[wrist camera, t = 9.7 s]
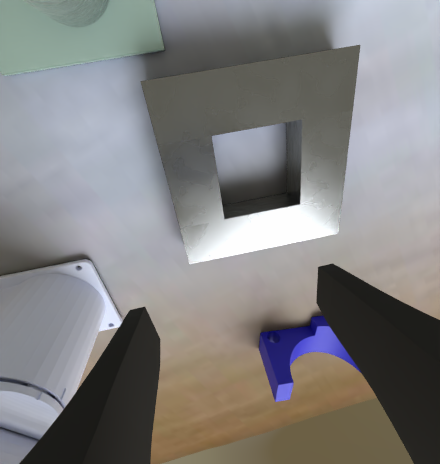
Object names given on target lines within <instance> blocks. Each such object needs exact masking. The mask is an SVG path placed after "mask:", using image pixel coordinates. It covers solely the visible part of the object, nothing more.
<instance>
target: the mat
mask: <svg viewBox="0 0 440 464" xmlns="http://www.w3.org/2000/svg"><path fill="white" fill-rule="evenodd" d="M159 51H165V49H164V44H163V40H162V35H161V30H160V26H159V21H158V16H157V12H156V7H155V2H154V0H109V4H108V6H107V8H106V10H105V12H104V14H103V15H102V16H101V17H100V18H99V19H98V20H97V21H96V22H95V23H93V24H91V25H88V26H85V27H70V26H66V25H63V24H60V23H58V22H56V21H54V20H53V19H51V18H49V17H48V16H46V15H45V14H43V13H42V12H40V11H39V10H37V9H36V8H34V7H33V6H31V5H30V4H28V3H26V2H25V1H23V0H0V72H1V74H2V75H4V76H10V75H16V74H22V73H28V72H35V71H41V70H47V69H53V68H59V67H66V66H72V65H78V64H84V63H91V62H97V61H103V60H109V59H116V58H122V57H128V56H134V55H140V54H147V53H153V52H159Z"/></svg>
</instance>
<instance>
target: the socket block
mask: <svg viewBox="0 0 440 464" xmlns="http://www.w3.org/2000/svg"><path fill="white" fill-rule="evenodd" d="M359 52H360V45H356V46H350V47H344V48H338V49H332V50H326V51H320V52H314V53H308V54H302V55H296V56H290V57H284V58H278V59H272V60H266V61H260V62H254V63H248V64H242V65H236V66H230V67H224V68H218V69H212V70H206V71H200V72H194V73H188V74H182V75H176V76H170V77H164V78H158V79H152V80H146V81H141V85H142V88H143V92H144V96H145V100H146V103H147V107H148V111H149V115H150V118H151V122H152V126H153V129H154V133H155V137H156V141H157V144H158V148H159V152H160V156H161V159H162V163H163V167H164V170H165V174H166V178H167V182H168V185H169V189H170V193H171V197H172V200H173V204H174V208H175V211H176V215H177V219H178V223H179V226H180V230H181V234H182V238H183V241H184V245H185V249H186V252H187V256H188V260H189V264H193V263H198V262H203V261H208V260H213V259H217V258H222V257H227V256H232V255H237V254H242V253H246V252H251V251H256V250H261V249H266V248H271V247H275V246H280V245H285V244H290V243H295V242H300V241H304V240H309V239H314V238H319V237H324V236H329V235H333V234H338V231H339V223H340V214H341V206H342V197H343V189H344V180H345V171H346V163H347V154H348V146H349V137H350V129H351V120H352V112H353V103H354V95H355V86H356V78H357V69H358V61H359ZM285 122H286V139H287V193H284V194H279V195H274V196H269V197H264V198H259V199H254V200H249V201H243V202H238V203H233V204H228V205H223V206H222V200H221V194H220V188H219V181H218V175H217V168H216V162H215V156H214V149H213V143H212V137H211V136H213V135H219V134H224V133H230V132H235V131H241V130H247V129H252V128H258V127H263V126H269V125H274V124H280V123H285Z"/></svg>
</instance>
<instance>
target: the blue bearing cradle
mask: <svg viewBox="0 0 440 464" xmlns="http://www.w3.org/2000/svg"><path fill="white" fill-rule="evenodd" d="M259 351H260V354H261V357H262V360H263V364H264V367H265V370H266V373H267V376H268V380H269V383H270V386H271V389H272V393H273V396H274V399H275V402H277V401H283V400H289V399H290V396H291V391H292V387H293V383H294V382H293V379H292V376H291V372H290V365H291V364H292V362H293V361H294V360H295V359H296V358H297V357H299V356H301V355H303V354H305V353H309V352H324V353H329V354H332V355H335V356H337V357H339V358H341V359H343V360H345V361H347V362H348V363H350V364H351V365H353V366H354V367H355V368H356V369H357V370H359V369H358V367H357V366H356V364H355V363H354V361H353V360H352V359H351V357H350V356H349V354H348V353H347V351H346V350H345V348H344V347H343V346H342V344H341V343H340V341H339V340H338V338H337V337H336V335H335V334H334V332H333V331H332V329H331V328H330V326H329V325H328V323H327V321H326V320H325V318H324V316H316V317H312V318H311V322H310V326H306V327H298V328H291V329H284V330H276V331H269V332H262V333H260V344H259ZM359 371H360V370H359Z"/></svg>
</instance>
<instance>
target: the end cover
mask: <svg viewBox="0 0 440 464" xmlns="http://www.w3.org/2000/svg"><path fill="white" fill-rule="evenodd" d="M23 1H25V2H26V3H28V4H30V5H31V6H33V7H34V8H36V9H37V10H39V11H40V12H42V13H43V14H45V15H46V16H48V17H49V18H51V19H53V20H54V21H56V22H58V23H60V24H63V25H66V26H70V27H85V26H88V25H91V24H93V23H95V22H96V21H97V20H98V19H99V18H100V17H101V16H102V15H103V14H104V12H105V10H106V8H107V6H108V4H109V0H23Z"/></svg>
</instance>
